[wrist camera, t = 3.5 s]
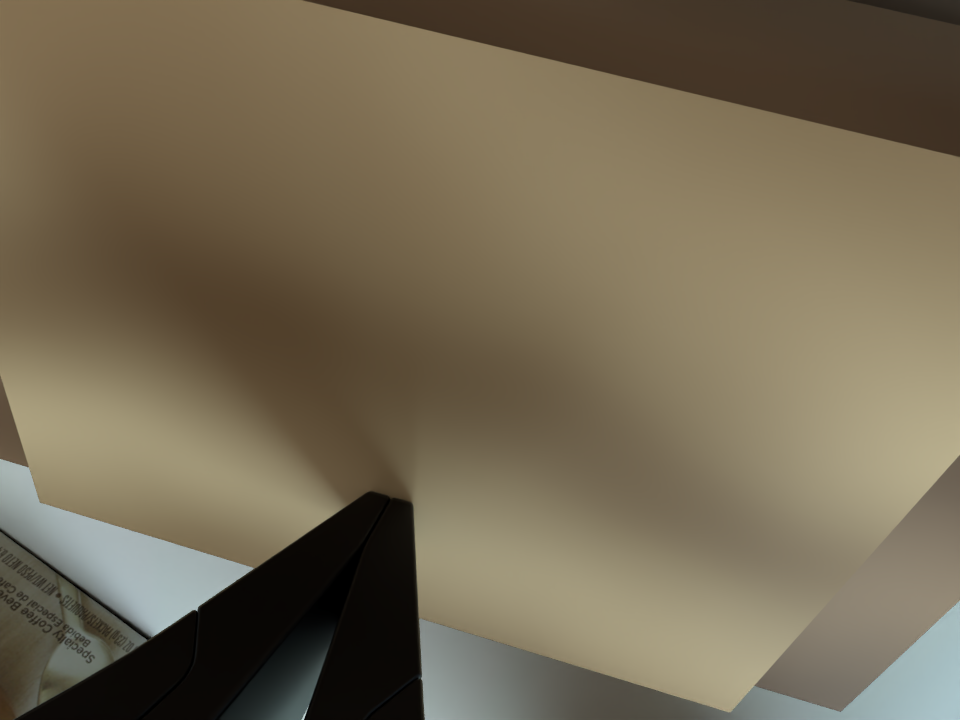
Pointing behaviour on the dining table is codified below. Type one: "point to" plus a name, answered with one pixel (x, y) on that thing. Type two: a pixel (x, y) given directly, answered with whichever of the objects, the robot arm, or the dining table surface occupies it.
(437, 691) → the dining table surface
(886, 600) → the floor board
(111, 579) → the dining table surface
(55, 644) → the coffee box
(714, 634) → the tan rectangular panel
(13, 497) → the dining table surface
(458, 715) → the dining table surface
